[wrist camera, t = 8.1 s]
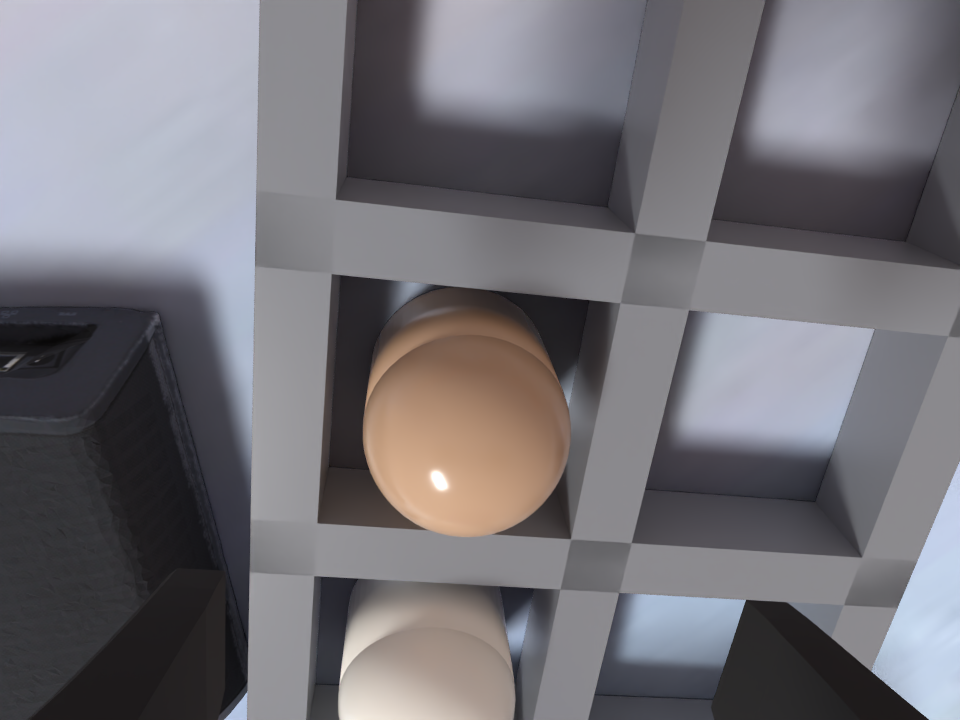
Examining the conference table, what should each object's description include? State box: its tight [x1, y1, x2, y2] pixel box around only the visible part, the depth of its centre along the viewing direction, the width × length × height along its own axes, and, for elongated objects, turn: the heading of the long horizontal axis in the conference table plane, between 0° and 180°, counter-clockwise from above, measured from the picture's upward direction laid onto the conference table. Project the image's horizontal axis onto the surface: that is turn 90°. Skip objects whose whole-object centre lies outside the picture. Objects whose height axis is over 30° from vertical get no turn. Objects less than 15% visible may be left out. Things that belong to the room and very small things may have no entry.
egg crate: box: [247, 0, 960, 720], centre depth 19 cm, size 24×16×2 cm
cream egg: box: [338, 579, 516, 720], centre depth 20 cm, size 4×4×5 cm
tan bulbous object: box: [363, 287, 571, 537], centre depth 17 cm, size 4×4×5 cm
